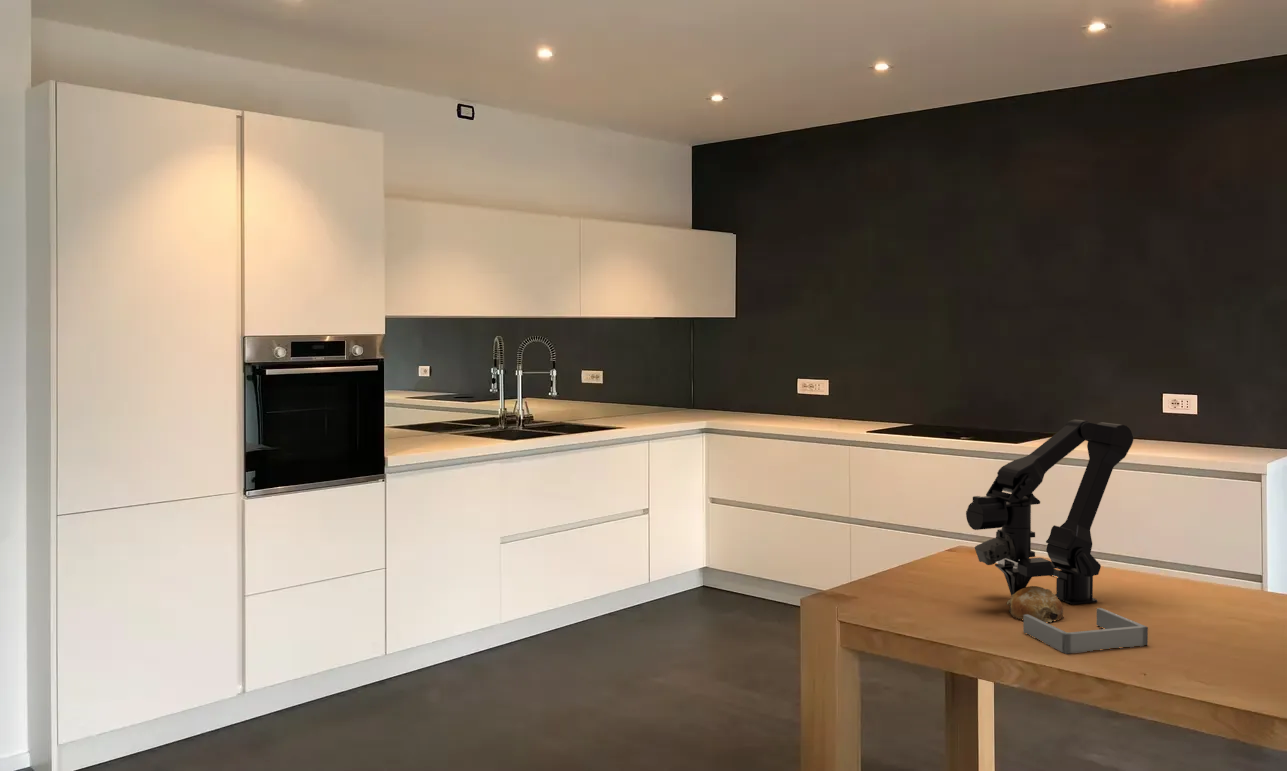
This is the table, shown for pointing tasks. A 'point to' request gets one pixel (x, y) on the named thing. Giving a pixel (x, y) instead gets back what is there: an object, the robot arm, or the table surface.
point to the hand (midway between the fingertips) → (1015, 600)
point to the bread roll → (1036, 604)
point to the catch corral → (1090, 634)
